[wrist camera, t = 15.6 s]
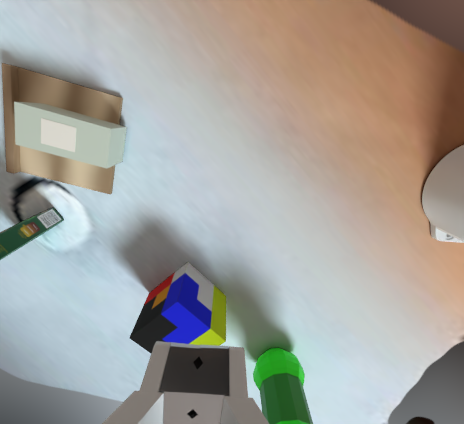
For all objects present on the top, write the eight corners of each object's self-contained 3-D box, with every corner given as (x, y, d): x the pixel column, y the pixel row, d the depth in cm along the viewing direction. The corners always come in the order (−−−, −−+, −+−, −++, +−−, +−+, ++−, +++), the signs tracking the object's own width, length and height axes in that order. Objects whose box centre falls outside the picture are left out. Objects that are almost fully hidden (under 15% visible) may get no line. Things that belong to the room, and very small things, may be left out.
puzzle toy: (188, 261, 43) (177, 301, 34) (226, 295, 46) (225, 341, 37) (149, 292, 46) (129, 337, 36) (187, 323, 49) (178, 372, 39)
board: (122, 98, 34) (117, 97, 32) (111, 193, 39) (106, 196, 37) (13, 65, 32) (1, 62, 30) (16, 169, 37) (6, 171, 35)
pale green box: (110, 128, 30) (13, 101, 29) (106, 168, 32) (15, 144, 30) (126, 127, 35) (44, 103, 33) (122, 161, 36) (43, 140, 35)
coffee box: (55, 204, 39) (-24, 244, 27) (66, 219, 40) (-4, 264, 28) (15, 224, 40) (-78, 271, 28) (27, 238, 41) (-57, 290, 29)
